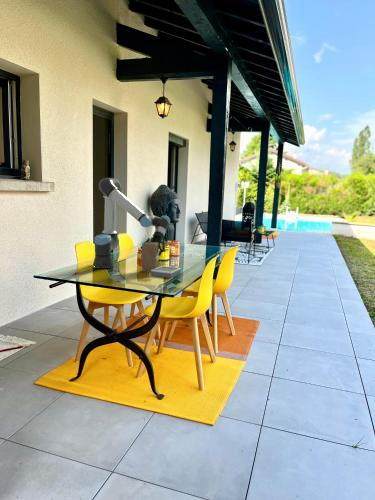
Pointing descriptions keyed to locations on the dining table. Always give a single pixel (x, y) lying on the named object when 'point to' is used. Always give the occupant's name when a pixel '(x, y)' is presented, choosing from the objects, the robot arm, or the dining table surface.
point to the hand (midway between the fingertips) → (148, 258)
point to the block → (149, 256)
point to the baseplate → (165, 271)
